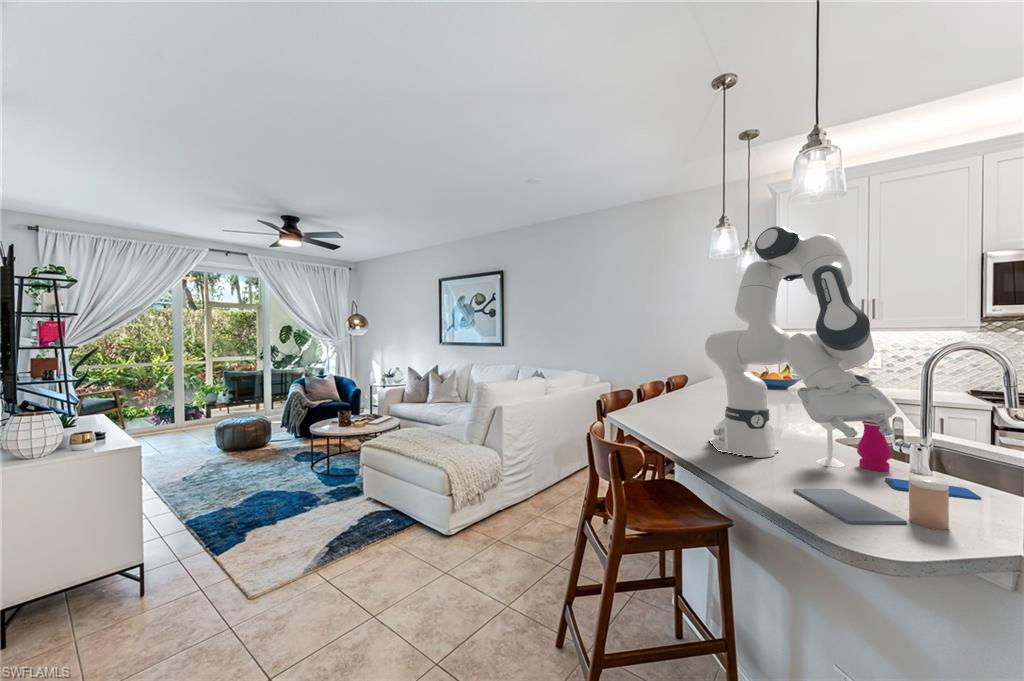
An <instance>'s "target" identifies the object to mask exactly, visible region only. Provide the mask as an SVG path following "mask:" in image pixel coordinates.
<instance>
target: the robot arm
mask: <svg viewBox="0 0 1024 681" xmlns="http://www.w3.org/2000/svg"><path fill="white" fill-rule="evenodd" d="M754 250H755V252H756V254H757V255H758V257H759V258H761V259H762V260H756V261H754V262H751V263H750V264H749V265H748V266H747V267H746V269H745V271H744V274H743V275H742V278H741V281H740V284H739V287H738V294H737V298H736V302H735V306H734V312H735V315H736V317H738V319H740V320H742V321H743V322H744V323H747V324H748V328H747V329H746V330H743V329H742V330H739V329H738V330H723V331H719V332H713V333H711V334H710V335H709V336H708V337H707V338H706V341H705V344H704V349H705V350H704V351H705V354H706V356H707V357H708V358H709V360H711V361H712V362H713V363H714V364H715V365H717V367H718V368H719V369H720V371H721V373H722V375H723V376H724V377H723V378H724V381H725V384H726V390H727V391H726V392H727V406H725V410H724V418H723V419H722V420H721V421H720V422H719V423H718V424H716V426H715V427H714V428H713V431H712V432H713V435H714V436H715V437H710V438H708V439H709V440H710V441H711V442H712V444H713V445H714V446H715V447H716V448H717V449H718V450H722V451H727V452H731V453H735V454H740V455H745V456H753V457H752V458H770V457H773V456H775V454H777V452H778V453H780V450H779V448H778V447H776V443H775V433H774V427H773V425H772V424H771V423H770V422H769V421H770V409H769V408H768V386H767V384H766V382H765V380H763V379H761V378H760V377H759V376H756V375H754V374H753V373H752V371H751V370H750V367H749V365H753V366H754V365H755V366H773V365H780V364H785V363H788V365H789V367H791V369H792V370H793V371H794V373H795V374H796V375H797V376H798V377H800V378H801V379H802V381H803V384H804V386H803V387H800V388H799V389H798V390H797V393H796V394H797V396H798V397H799V399H800V401H801V404H802V406H803V408H804V410H805V412H806V413H807V415H808V416H809V418H810V419H811V420H812V421H814V422H815V423H816V424H819V423H831V424H832V426H834V427H835V428H836V430H839V432H841V433H843V435H844V436H845V438H847V439H848V438H852V439H853V438H855V437H856V436H858V431H856V429H855V428H854V427H853V426H849V425H848V424H846V423H849V422H862V421H875V422H876V424H879V425H880V429H879V431H880V433H882V435H883V436H885V437H890V436H892V435H893V434H895V430H894V429H893V428H892V427H891V425H890V420H889V419H890V418H891V417H893V416H894V415H895V414H896V413H897V410H896V407H895V405H894V404H893V403H892V402H891V400H890V399H889V398H888V397H887V396H886V395H885V394H884V393H883V392H882V390H880V389H878V388H877V387H876V386H873V385H874V382H873V380H872V379H870V378H869V377H867V376H862V375H858V374H855V373H852V372H849V371H848V370H851V369H852V370H853V369H854V368H857V367H860V366H863V365H865V364H867V363H868V362H870V360H871V359H872V358H873V356H874V354H875V348H874V343H873V338H872V334H871V322H870V319H869V317H868V316H867V314H865V312H864V311H862V310H861V309H860V308H859V307H858V306H856V305H855V304H854V303H853V302H852V299H851V296H850V293H849V290H848V288H850V287H851V285H852V284H853V272H852V271H853V270H852V266H851V263H850V260H849V258H848V255H847V253H846V251H845V249H844V247H843V246H842V245H841V243H840V242H839V241H838V240H837V238H836V237H835V236H832V235H829V234H824V233H823V234H817V235H814V236H811V237H809V238H807V239H806V238H804V237H801V236H800V235H799V233H797V232H795V231H793V230H791V229H789V228H787V227H783V226H778V225H776V226H771V227H768V228H766V229H765V230H764V231H762V232H761V233H760V234H759V236H758V237H757V238H756V240H755V243H754ZM800 279H801V280H803V283H804V285H805V286H806V288H807V290H808V292H809V293H810V294H812V295H814V296H816V297H817V300H818V305H819V314H818V317H817V319H816V322H815V333H811V332H810V333H809V332H803V331H801V332H798V333H795V334H793V335H791V336H790V335H789V334H788V333H787V332H786V331H784V330H783V329H782V328H780V326H779V325H778V323H777V321H776V316H775V312H776V303H777V297H778V290H779V285H780V284H781V283H780V282H781V281H782V280H784V281H786V282H793V281H795V280H800ZM745 456H744V457H745Z"/></svg>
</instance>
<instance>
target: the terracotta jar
mask: <svg viewBox="0 0 1024 681" xmlns="http://www.w3.org/2000/svg"><path fill="white" fill-rule="evenodd" d="M908 481H909V491H908V520H909V521H910V522H911V523H913V524H914V525H917V526H919V527H923V528H926V527H928V528H927V529H931V528H933V530H937V529H938V530H937V531H945V530H946V529H947V530H949V529H950V513H949V512H950V505H949V504H950V501H949V500H950V498H949V497H950V496H949V486H950V484H949V482H948V481H946V480H943V479H940V478H937V477H932V476H925V475H909V476H908ZM948 528H949V529H948ZM947 530H946V531H947Z"/></svg>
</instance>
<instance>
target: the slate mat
mask: <svg viewBox="0 0 1024 681" xmlns="http://www.w3.org/2000/svg"><path fill="white" fill-rule="evenodd" d="M793 492H794V493H796V494H798V495H800V497H802V498H804V499H806V500H808V501H809V502H811V503H813V504H814V505H817V506H818V507H819V508H822V509H823V510H825V511H827V512H828V513H829V514H831V515H833V516H835V517H837V518H839V519H840V520H841V521H843V522H845V523H846V524H848V525H852V524H853V525H859V524H860V525H907V524H908V522H907V521H908V520H905V519H903V518H902V517H899V516H897V515H896V514H893V513H891V512H890V511H887V510H886V509H883V508H881V507H879V506H877V505H875V504H873V503H871V502H870V501H867V500H865V499H863V498H861V497H859V496H857V495H854V494H853V493H851V492H848V491H846V489H845V490H844V489H842V488H793Z"/></svg>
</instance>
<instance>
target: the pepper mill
mask: <svg viewBox="0 0 1024 681" xmlns="http://www.w3.org/2000/svg"><path fill="white" fill-rule="evenodd" d="M861 424H863V434H862V436H861V438H860V440H859V441H858V445H857V447H856V452H857V454H858V455H859V456H860V459H859V462H858V463H859V464H858V465H859V467H861V468H862V469H865V470H868V471H869V470H870V471H875V472H888V471H890V463H889V462H888V461H889V460H890V459H892V456H893V454H892V450H891V447H890V445H889V443H888V441H887V438H886V436H883V435H882V433H880V431H879V429H880V425H879V424H876V422H875V421H861Z"/></svg>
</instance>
